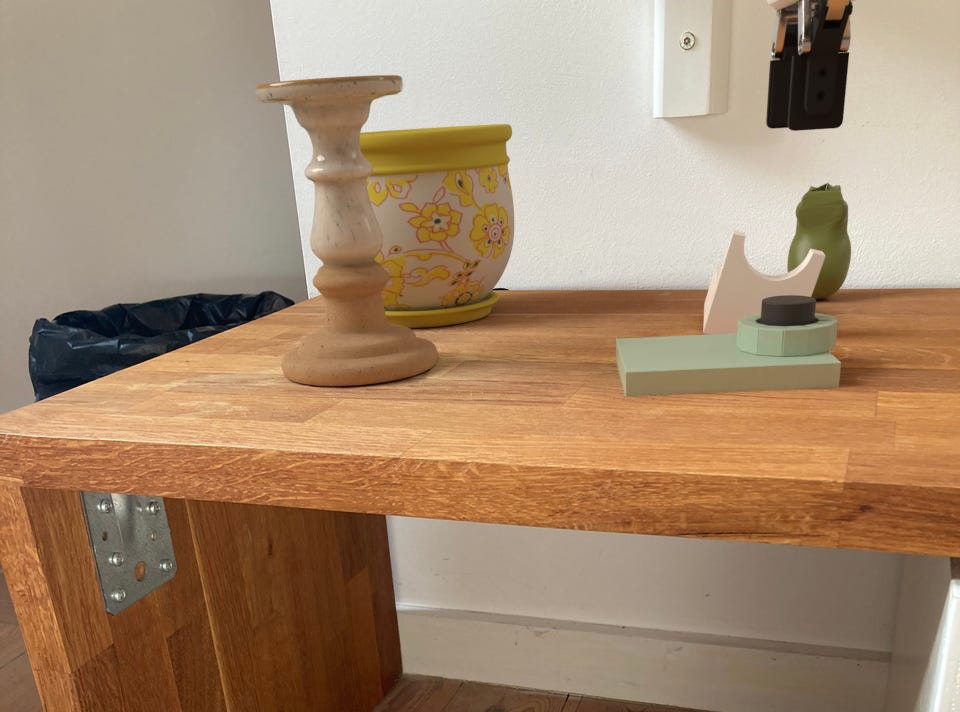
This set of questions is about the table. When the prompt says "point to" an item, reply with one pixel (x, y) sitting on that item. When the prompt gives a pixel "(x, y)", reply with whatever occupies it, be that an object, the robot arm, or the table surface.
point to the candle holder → (346, 240)
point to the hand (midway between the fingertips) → (802, 125)
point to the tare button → (788, 310)
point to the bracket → (751, 286)
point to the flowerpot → (441, 220)
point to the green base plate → (732, 359)
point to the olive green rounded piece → (823, 237)
